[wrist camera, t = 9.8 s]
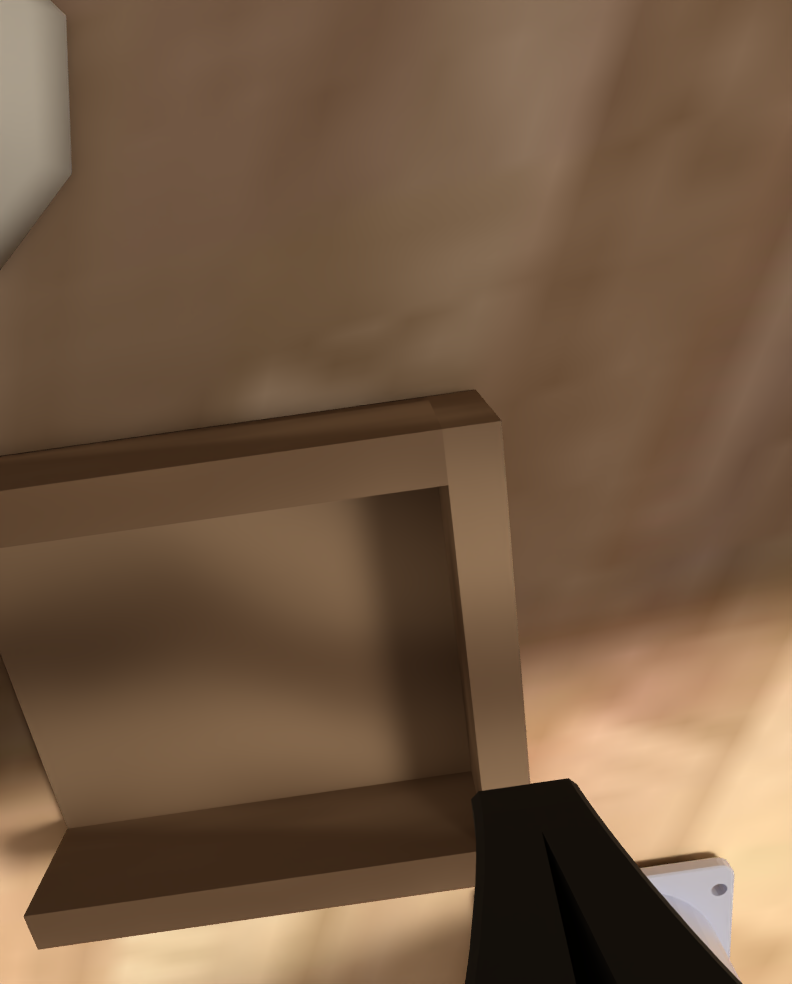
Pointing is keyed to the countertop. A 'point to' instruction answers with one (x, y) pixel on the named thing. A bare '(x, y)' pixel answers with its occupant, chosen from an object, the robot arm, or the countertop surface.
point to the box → (263, 661)
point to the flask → (31, 115)
